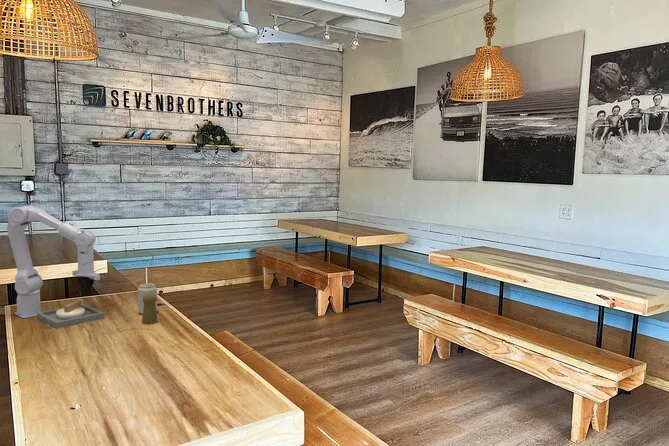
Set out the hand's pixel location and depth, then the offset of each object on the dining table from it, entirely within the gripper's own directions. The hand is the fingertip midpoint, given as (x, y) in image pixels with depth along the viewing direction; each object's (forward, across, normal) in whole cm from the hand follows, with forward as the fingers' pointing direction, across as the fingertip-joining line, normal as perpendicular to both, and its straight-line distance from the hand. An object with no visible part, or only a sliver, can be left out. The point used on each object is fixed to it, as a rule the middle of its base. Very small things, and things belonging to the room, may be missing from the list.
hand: (86, 295), depth 202 cm
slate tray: (+8, -2, -6) cm, 10 cm away
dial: (+7, -3, -4) cm, 9 cm away
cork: (+8, +27, +8) cm, 30 cm away
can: (+9, +17, +16) cm, 25 cm away
